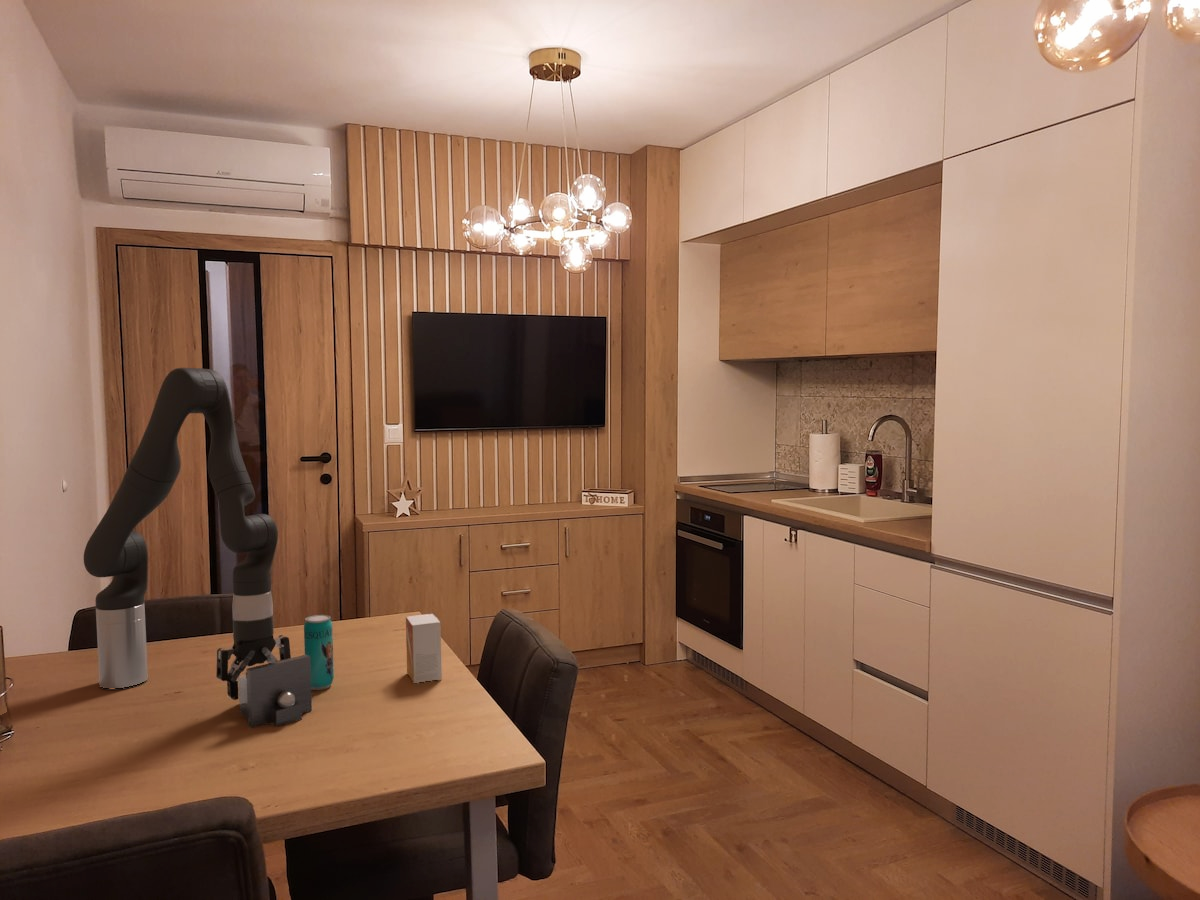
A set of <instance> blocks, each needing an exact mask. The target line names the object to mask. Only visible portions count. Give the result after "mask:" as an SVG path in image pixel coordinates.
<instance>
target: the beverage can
mask: <svg viewBox="0 0 1200 900" xmlns="http://www.w3.org/2000/svg"><path fill="white" fill-rule="evenodd" d="M304 620H305V622H304V625H303V635H304V636H303V638H304V641H303V643H304V645H303V646H304V655H309V656H310V667H311V691H322V690H323V689H324V690H327V689H329V688H330V687H331V686H332V684H333V681H334V677H335V675H334V674H335V671H334V669H335V668H334V644H333V641H334V639H333V634H334V633H333V622H332V619H331V615H328V614H317V615H316V614H315V615H311V616H308V617H307V616H306V617H305V619H304ZM324 690H323V691H324Z"/></svg>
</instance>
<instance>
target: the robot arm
mask: <svg viewBox="0 0 1200 900" xmlns="http://www.w3.org/2000/svg"><path fill="white" fill-rule="evenodd" d="M190 414H202V415H203V417H204V418H205V421H206V422H207V424H208V427H209V433H210V446H209V453H208V458H207V472H208V473H207V474H208V477H209V480H210V483H211V485H212V488H213V492H214V494H215V496H216V499H217V502H218V514H219V527H220V536H221V540H222V542H223V544H224V545H225V547H227V549H228V550H229V551H231V552H232V553H235V554H244V553H247V554H246V558H245V559H244V560H243V561H241V562H240V563H238V564H237V565H236V566H234V567H233V569H232V591H233V592H232V593H233V594H232V596H233V597H232V604H231V605H232V611H231V612H232V636H233V638H232V639H233V645H232V647H230V648H225V649H224V648H221V647H220V648H218V649H217V651H216V679H218V680H220V681H222V682H226V685H227V692H226V693H227V696H228V697H229V698H230V699H231V700H233V701H237V700H239V680H237V679H238V677H239V676H241V673H243V672H244V671H245V670H246V669H247V667H254V666H255V665H256V664H258V665H263V664H265V662H267V664H268V663H272V662H277V661H281V660H285V659H289V658H292V655H291V645H290V643H291V642H290V637H288V636H285V635H283V634H281V635H279V636H278V637H277V638H274V613H273V612H274V605H273V603H274V602H273V597H272V586H271V584H272V583H271V580H272V579H271V569H272V566H273V563H274V558H275V553H276V548H277V544H278V540H279V539H278V538H279V533H278V532H279V531H278V527H277V524H276V522H275V520H274V519H273V518H272V517H271V516H270V515H268V514H266V513H258V514H251V515H245V514H246V513H245V506H247V505H249V504H251V503H253V502H254V500H255V498H256V493H255V489H254V486H253V483H252V480H251V477H250V475H249V472H248V470H247V467H246V465H245V462H244V459H243V457H242V456H243V455H242V452H241V449H240V445H239V440H238V435H237V430H236V424H235V417H234V414H233V408H232V404H231V398H230V394H229V389H228V387H227V383H226V382H225V379H224V377H223V376H222V375H221V373H219V372H218V371H216V370H213V369H209V368H199V367H198V368H197V367H178V368H175V369H173V370H171V371H169V372H168V374H167V375H166V376H165V378H164V379H163V382H162V384H161V386H160V388H159V391H158V394H157V398H156V401H155V404H154V406H153V410H152V413H151V414H150V415H151V416H150V419H149V421H148V424H147V426H146V428H145V430H144V433H143V435H142V437H141V440H140V443H139V445H138V447H137V449H136V451H135V452H134V455H133V456H132V459H131V460H130V463H129V465H128V467H127V469H126V470H125V473H124V476H123V478H122V480H121V483H120V485H119V486H118V488H117V490H116V493H115V494H114V496H113V498H112V500H111V503H110V504H109V506H108V508H107V510H106V512H105V513H104V515H103V516H102V518H101V520H100V521H99V523H98V525H97V526H96V528H95V529H94V531H92V533H91V536H90V537H89V539H88V541H87V542H86V545H85V549H84V552H83V565H84V568H85V570H86V572H87V573H88V574H89V575H91V576H92V577H94V578H109V577H110V578H111V577H112V580H111V581H110V582H109V584H108V585H107V586H106V587H104V588H103V589H102V590H100V591H99V592H98V593H97V594H96V596H95V617H96V619H95V620H96V638H97V641H96V642H97V659H98V660H97V661H98V662H97V663H98V664H97V665H98V684H99V685H100V686H101V687H104V688H123V689H125V688H124V687H129V686H133V685H137V684H140V683H142V682H144V681H146V680H147V681H148V679H147V678H149V677H148V656H147V654H148V653H147V631H146V629H147V628H146V611H145V607H146V606H145V595H146V592H147V590H148V584H149V583H148V579H149V577H148V575H149V574H148V570H149V552H148V547H147V543H146V540H145V537H143V535H142V534H141V533H140V532H138V531H137V530H134V529H135V528H136V527H137V525H139V524H140V523H141V522H142V521H143V520H144V519H145V518H146V517H148V516H149V515H150V514H151V513H153V511H155V510H156V509H157V508H158V507H159V506H160V505H161V504H162V503H163V502H164V501H165V499H167V497H168V495H169V493H171V491H172V488H173V486H174V484H175V483H176V480H177V478H178V477H179V474H180V471H181V467H182V466H181V462H182V461H181V455H180V451H179V450H180V449H179V445H178V437H179V432H180V431H181V428H182V427H183V423H184V422H185V420H186V419H187V417H188V416H189V415H190ZM275 647H277V648H278V652H279V653H278V654H279V659H278V658H277V657H275V655H274V654H273V653H272V652H273V650H274V648H275ZM232 655H233V656H234V657H235V658H234V659H233V661H232V663H231V665H230V669H229V660H230V659H231V656H232ZM147 681H146V682H147ZM144 683H145V682H144ZM142 684H143V683H142ZM140 685H141V684H140ZM100 686H99V687H100ZM137 686H138V685H137ZM133 687H134V686H133ZM129 688H130V687H129Z"/></svg>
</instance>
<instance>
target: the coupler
mask: <svg viewBox="0 0 1200 900" xmlns="http://www.w3.org/2000/svg"><path fill="white" fill-rule="evenodd" d="M245 670H246V672H245V675H246V679H247V704H246V703H243V704H240V705H239V712H240V713H239V714H240V715H241V716H242V717H244V718H246V719H247V725H248V727H250V728H251V729H253V728H257V727H261V726H264V725H267V724H271V723H272V724H271V725H273V726H274V727H280V725H281V726H284V725H287V723H288V724H290V723H294V722H298V721H300V720H303V715H302V714H305V713H308V712H311V711H312V709H313V708H312V705H313V704H312V690H311V667H310V656H309V655H305V654H303V655H298V656H294V657H291V658H289V659H285V660H281V661H279V660H278V661H277V662H272V663H268V662H267V663H263V664H259V665H256V666H251V667H248V668H247V667H246V668H245Z"/></svg>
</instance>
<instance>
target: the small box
mask: <svg viewBox="0 0 1200 900" xmlns="http://www.w3.org/2000/svg"><path fill="white" fill-rule="evenodd" d="M405 630H406V631H405V636H406V639H405V641H406V642H405V643H406V644H405V645H406V673H407V675H408V676H409V678H410V679H411V680H412V683H413V684H414V683H417V684H420V683H419V682H424V683H426V682H425V681H431V682H433V681H432V680H438V681H442V680H443V673H442V672H443V671H442V670H443V669H442V638H441V637H442V632H441V631H442V630H441V621H440V620H439V619H438V617H437V616H436V615H435V614H434V613H426V614H418V615H417V614H416V615H410V616H405ZM441 679H442V680H441Z"/></svg>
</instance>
